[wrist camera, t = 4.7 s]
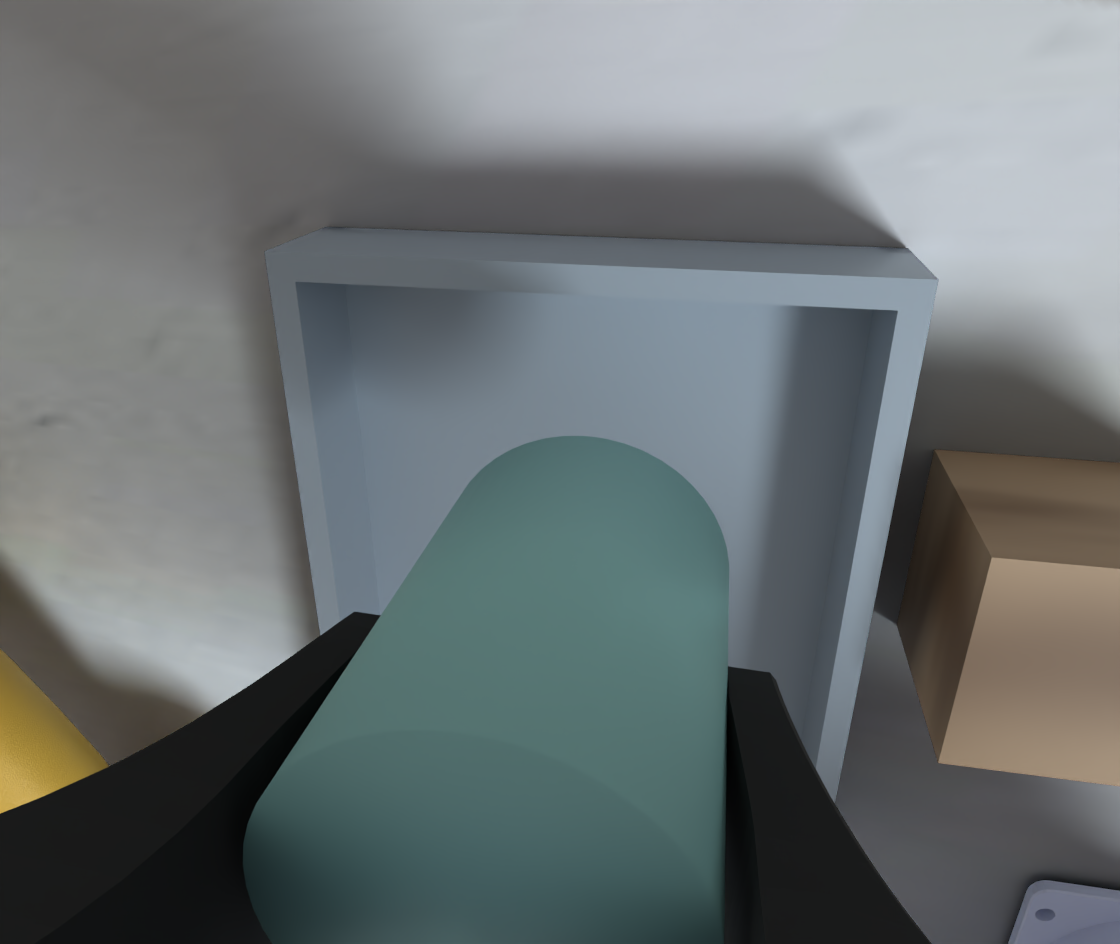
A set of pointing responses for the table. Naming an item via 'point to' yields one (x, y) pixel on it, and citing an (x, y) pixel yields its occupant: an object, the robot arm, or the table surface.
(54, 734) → the dumbbell
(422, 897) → the teal cylinder
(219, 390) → the table surface
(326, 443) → the tote
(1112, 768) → the cube
